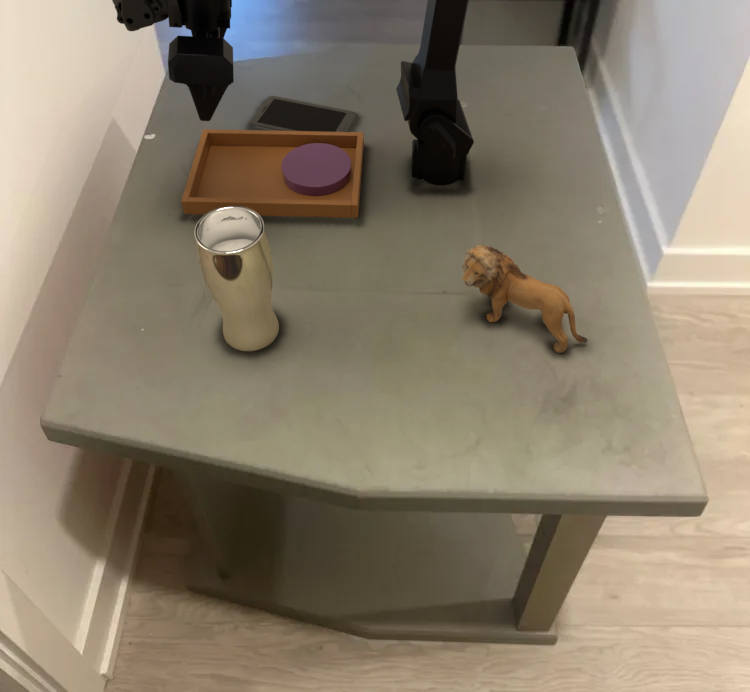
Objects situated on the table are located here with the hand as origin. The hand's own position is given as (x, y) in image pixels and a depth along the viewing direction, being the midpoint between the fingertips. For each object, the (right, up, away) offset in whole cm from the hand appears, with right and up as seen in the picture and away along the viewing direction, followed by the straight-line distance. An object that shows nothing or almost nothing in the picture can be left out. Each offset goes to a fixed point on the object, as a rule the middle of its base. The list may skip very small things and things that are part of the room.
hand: (205, 96), depth 84 cm
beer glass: (+6, -27, -3) cm, 27 cm away
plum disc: (+12, -6, +13) cm, 18 cm away
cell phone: (+9, +3, +21) cm, 23 cm away
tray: (+7, -7, +13) cm, 16 cm away
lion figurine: (+35, -26, -2) cm, 43 cm away
